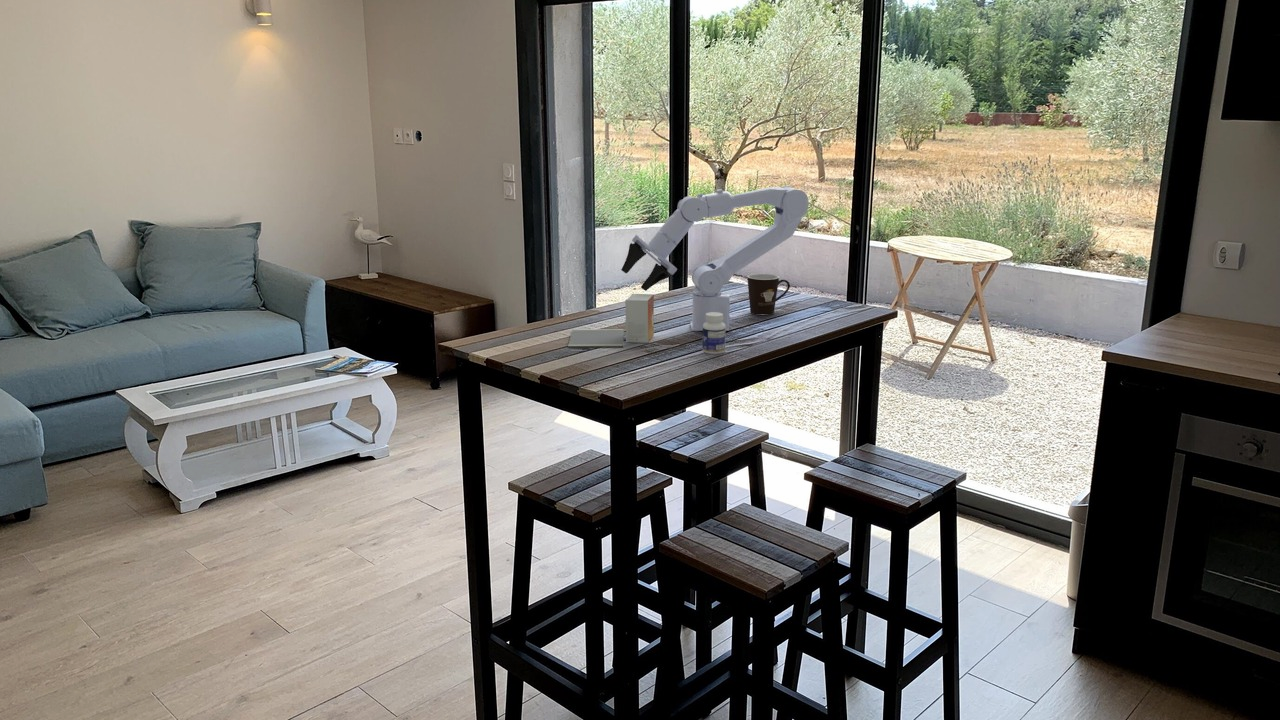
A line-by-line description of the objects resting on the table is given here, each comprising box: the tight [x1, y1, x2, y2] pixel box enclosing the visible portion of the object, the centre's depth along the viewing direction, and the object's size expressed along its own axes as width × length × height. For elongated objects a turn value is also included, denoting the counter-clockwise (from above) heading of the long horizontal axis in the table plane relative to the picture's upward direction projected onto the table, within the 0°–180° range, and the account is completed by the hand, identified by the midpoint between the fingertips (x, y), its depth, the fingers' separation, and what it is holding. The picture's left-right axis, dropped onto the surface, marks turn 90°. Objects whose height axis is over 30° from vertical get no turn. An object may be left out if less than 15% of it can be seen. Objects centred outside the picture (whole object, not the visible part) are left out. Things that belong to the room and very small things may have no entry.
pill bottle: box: [702, 312, 727, 355], centre depth 213 cm, size 5×5×9 cm
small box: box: [624, 293, 655, 344], centre depth 224 cm, size 8×6×10 cm
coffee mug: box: [746, 273, 791, 315], centre depth 251 cm, size 12×9×10 cm
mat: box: [567, 328, 625, 349], centre depth 225 cm, size 13×16×1 cm
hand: (633, 280), depth 230 cm, fingers open, 7 cm apart
